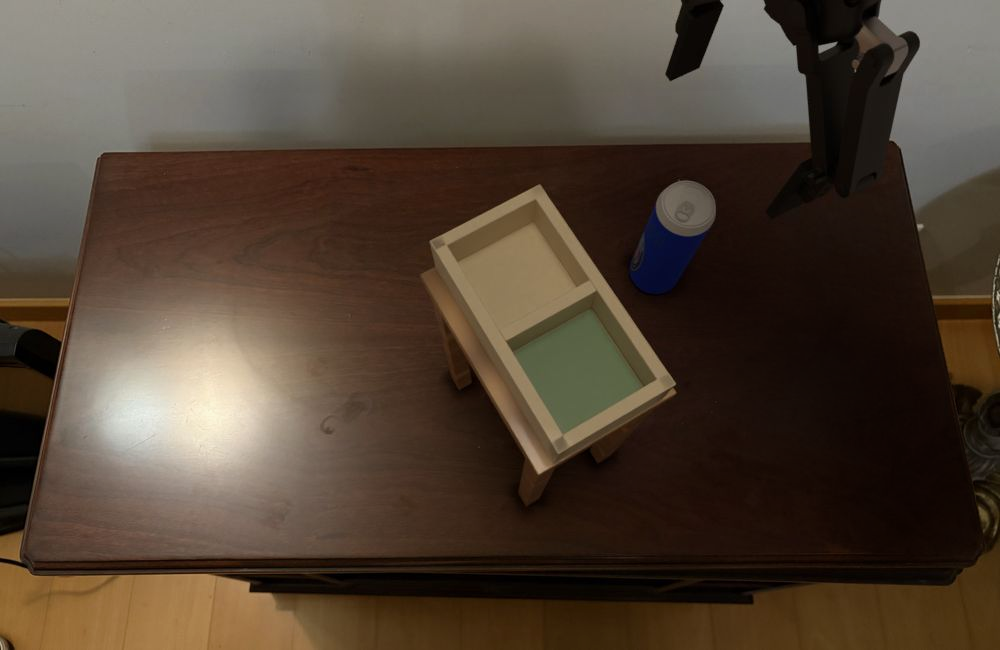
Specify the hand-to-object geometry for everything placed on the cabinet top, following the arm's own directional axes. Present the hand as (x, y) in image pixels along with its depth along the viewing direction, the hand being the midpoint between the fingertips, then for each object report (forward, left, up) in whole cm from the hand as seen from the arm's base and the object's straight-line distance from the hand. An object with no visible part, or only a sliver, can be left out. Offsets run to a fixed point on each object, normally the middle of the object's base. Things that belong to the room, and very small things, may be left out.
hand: (730, 137), depth 53 cm
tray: (-7, +21, +3) cm, 22 cm away
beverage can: (-1, +2, -23) cm, 23 cm away
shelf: (-7, +21, -23) cm, 32 cm away
